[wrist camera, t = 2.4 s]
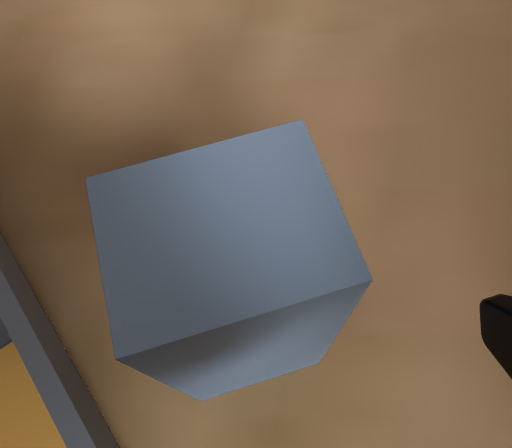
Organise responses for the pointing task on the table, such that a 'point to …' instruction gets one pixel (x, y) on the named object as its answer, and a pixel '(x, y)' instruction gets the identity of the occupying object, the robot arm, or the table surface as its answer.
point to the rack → (39, 376)
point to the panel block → (225, 261)
